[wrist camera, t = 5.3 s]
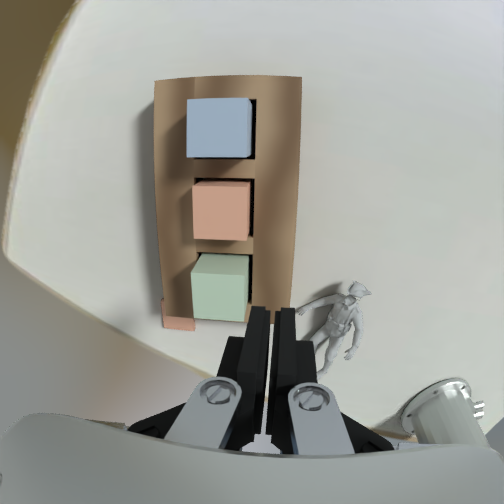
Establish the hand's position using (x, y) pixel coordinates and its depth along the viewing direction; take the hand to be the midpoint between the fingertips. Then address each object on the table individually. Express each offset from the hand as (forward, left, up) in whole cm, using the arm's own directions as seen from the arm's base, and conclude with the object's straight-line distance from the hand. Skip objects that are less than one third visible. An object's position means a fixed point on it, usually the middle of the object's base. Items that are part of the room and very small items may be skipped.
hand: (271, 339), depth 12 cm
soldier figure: (-7, +12, -19) cm, 24 cm away
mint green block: (+4, +5, -17) cm, 18 cm away
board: (+4, -2, -19) cm, 19 cm away
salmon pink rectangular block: (+4, -2, -18) cm, 19 cm away
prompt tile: (+10, +12, -19) cm, 24 cm away
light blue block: (+4, -8, -17) cm, 19 cm away
